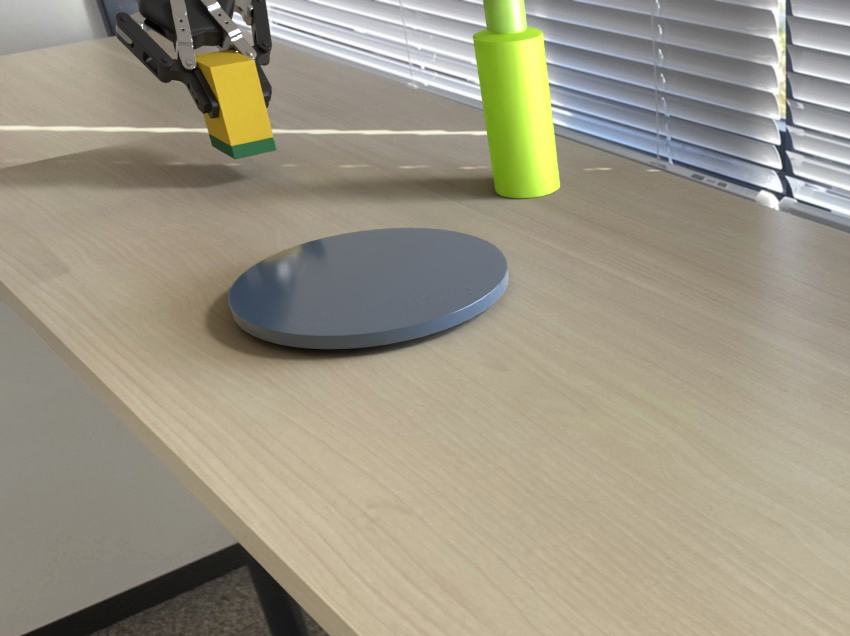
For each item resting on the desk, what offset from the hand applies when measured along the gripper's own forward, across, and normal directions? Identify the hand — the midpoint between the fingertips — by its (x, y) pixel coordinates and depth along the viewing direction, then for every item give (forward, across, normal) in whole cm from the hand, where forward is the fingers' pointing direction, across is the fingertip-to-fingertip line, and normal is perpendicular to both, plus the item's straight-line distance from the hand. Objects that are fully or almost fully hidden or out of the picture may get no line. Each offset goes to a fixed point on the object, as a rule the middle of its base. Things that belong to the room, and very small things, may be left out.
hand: (240, 107), depth 105 cm
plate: (+28, -4, -18) cm, 34 cm away
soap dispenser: (+19, +17, -10) cm, 27 cm away
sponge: (+2, 0, +4) cm, 5 cm away
